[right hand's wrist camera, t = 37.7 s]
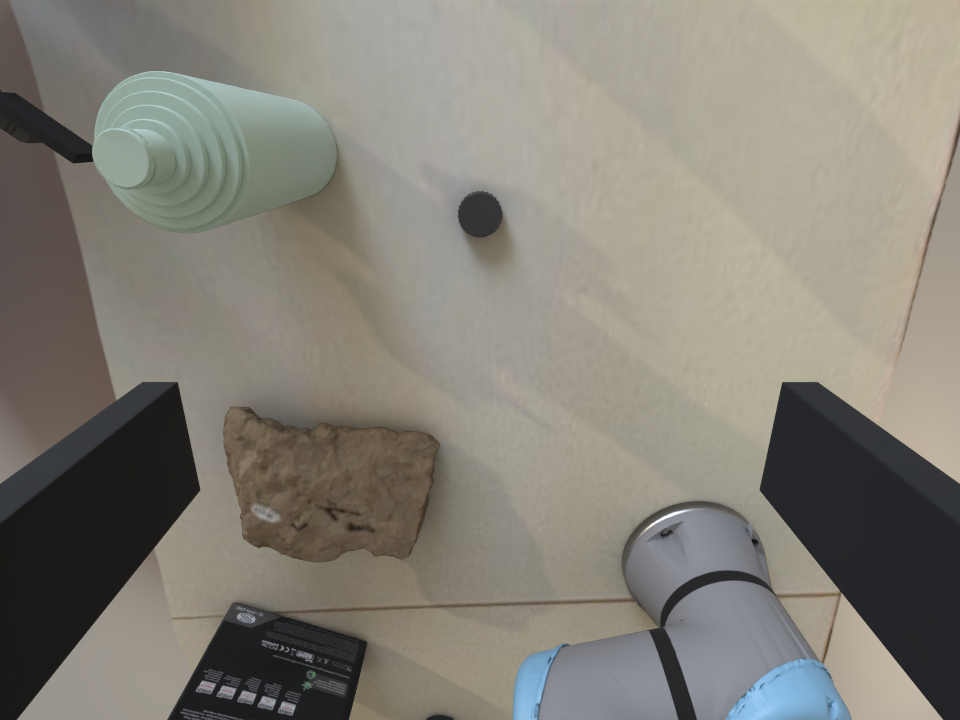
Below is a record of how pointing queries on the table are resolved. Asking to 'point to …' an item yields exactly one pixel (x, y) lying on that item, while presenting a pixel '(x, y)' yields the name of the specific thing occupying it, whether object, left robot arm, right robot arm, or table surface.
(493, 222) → the cap
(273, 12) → the table surface
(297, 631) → the graphics card box
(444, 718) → the robot
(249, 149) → the bottle
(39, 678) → the right robot arm
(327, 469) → the stone
